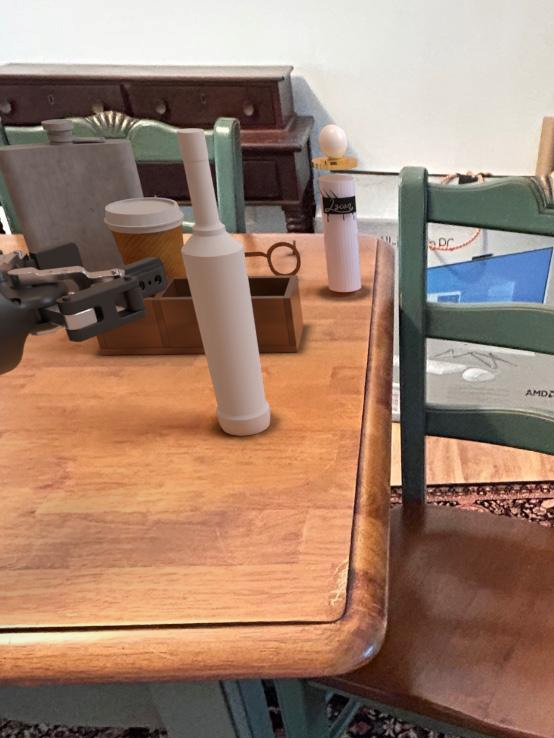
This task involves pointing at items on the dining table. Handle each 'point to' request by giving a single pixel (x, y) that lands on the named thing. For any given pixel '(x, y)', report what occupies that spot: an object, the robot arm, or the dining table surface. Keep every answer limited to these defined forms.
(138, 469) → the dining table surface
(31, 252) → the robot arm
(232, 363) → the bottle
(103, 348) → the rack
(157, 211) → the disposable coffee cup
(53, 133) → the hip flask
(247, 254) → the glasses
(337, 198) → the perfume bottle
